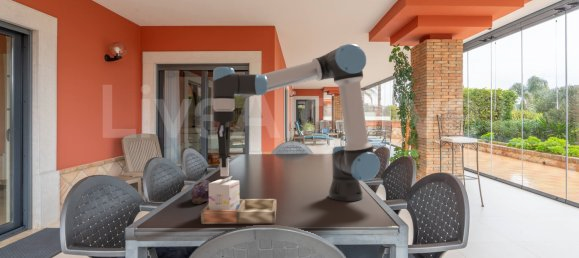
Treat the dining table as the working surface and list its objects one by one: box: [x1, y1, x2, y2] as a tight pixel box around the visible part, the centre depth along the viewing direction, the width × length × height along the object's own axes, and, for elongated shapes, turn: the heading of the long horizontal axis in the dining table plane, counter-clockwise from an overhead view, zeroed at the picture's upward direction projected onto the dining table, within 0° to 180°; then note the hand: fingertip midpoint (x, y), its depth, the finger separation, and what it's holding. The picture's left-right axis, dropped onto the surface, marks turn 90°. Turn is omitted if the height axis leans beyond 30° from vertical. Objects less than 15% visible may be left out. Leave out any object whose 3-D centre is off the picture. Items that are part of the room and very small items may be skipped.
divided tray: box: [200, 198, 277, 225], centre depth 118 cm, size 25×17×4 cm
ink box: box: [208, 175, 241, 210], centre depth 118 cm, size 9×8×13 cm
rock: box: [190, 179, 212, 205], centre depth 139 cm, size 12×9×10 cm
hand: (224, 175), depth 118 cm, fingers closed
